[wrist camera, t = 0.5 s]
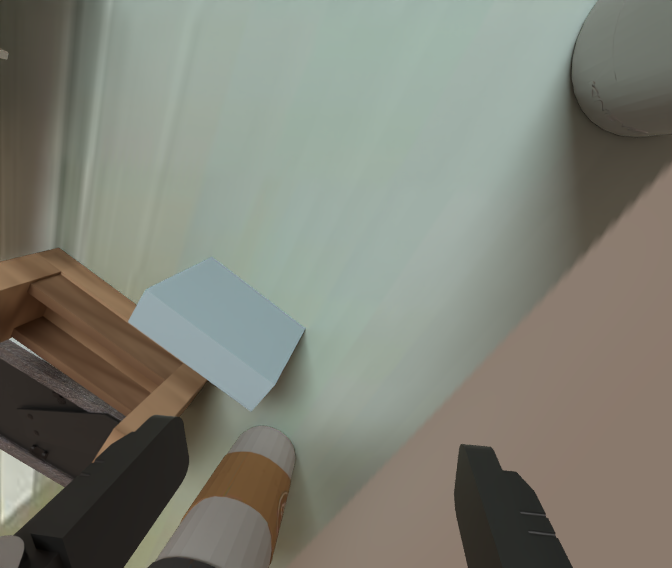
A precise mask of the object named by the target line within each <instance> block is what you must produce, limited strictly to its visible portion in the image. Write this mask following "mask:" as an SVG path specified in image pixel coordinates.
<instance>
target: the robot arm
mask: <svg viewBox="0 0 672 568" xmlns="http://www.w3.org/2000/svg"><path fill="white" fill-rule="evenodd" d="M572 82H573V88H574V93H575V96H576V98H577V101H578V103H579V105H580V107H581V109H582V110H583V112H584V113H585V114H586V115H587V116H588V118H589V119H590V120H591V121H592V122H593V123H595V124H596V125H598V126H599V127H601V128H602V129H603V130H606V131H609V132H611V133H614V134H617V135H621V136H630V137H644V136H655V135H664V134H672V0H598V1H597V2H596V4H595V5H594V7H593V8H592V10H591V12H590V13H589V15H588V16H587V18H586V20H585V22H584V24H583V27H582V29H581V31H580V34H579V36H578V38H577V42H576V46H575V50H574V54H573V58H572ZM188 465H189V455H188V449H187V443H186V437H185V431H184V425H183V421H182V419H181V418H180V417H175V416H164V415H153V416H151V417H150V418H148V419H147V420H146V421H145V422H144V423H143V424H142V425H141V426H140V427H139V428H138V429H137V430H136V431H135V432H130V433H129V434H127V435H125V436H124V437H122V438H120V439H119V440H117V441H116V442H114V443H112V444H111V445H110V446H109V447H108V448H107V449H106V450H104V451H103V452H102V453H101V454H100V455H99V456H98V457H97V458H96V459H95V461H94V463H91V464H90V465H88V466H87V467H86V468H85V469H84V470H83V471H82V472H81V474H80V476H77V477H76V478H75V479H73V480H72V481H71V482H70V483H69V484H68V485H67V486H66V487H65V488H64V489H63V490H62V491H61V492H60V493H58V494H57V495H56V496H55V497H54V498H53V499H52V500H51V501H50V502H49V503H48V504H47V505H46V506H45V507H44V508H42V509H41V510H40V511H39V512H38V513H37V514H36V515H35V516H34V517H33V518H32V519H31V520H30V521H29V522H27V523H26V524H25V525H24V526H23V527H22V528H21V529H20V530H19V531H18V532H17V533H15V534H14V535H13V536H12V535H8V536H1V537H0V568H124V566H125V565H126V563H127V562H128V560H129V559H130V557H131V556H132V555H133V553H134V552H135V550H136V549H137V547H138V546H139V544H140V543H141V541H142V540H143V539H144V537H145V536H146V534H147V533H148V531H149V530H150V528H151V527H152V525H153V524H154V523H155V521H156V520H157V518H158V517H159V515H160V514H161V512H162V511H163V509H164V508H165V507H166V505H167V504H168V502H169V501H170V499H171V498H172V496H173V495H174V493H175V492H176V491H177V489H178V488H179V486H180V485H181V483H182V482H183V480H184V478H185V476H186V473H187V470H188ZM454 500H455V511H456V517H457V521H458V526H459V530H460V534H461V539H462V543H463V547H464V552H465V556H466V561H467V565H468V568H573V567H572V565H571V563H570V561H569V559H568V557H567V555H566V553H565V551H564V549H563V547H562V545H561V543H560V542H559V539H558V538H556V536H555V532H554V529H553V527H552V525H551V523H550V521H549V519H548V518H546V515H545V512H544V510H543V508H542V506H541V503H540V501H539V500H538V498H537V496H536V494H535V492H534V490H533V489H532V488H531V487H530V486H529V485H528V484H527V483H526V482H525V481H524V480H523V479H522V478H521V476H520V475H519V474H518V473H517V472H513V471H503V470H502V469H501V466H500V464H499V461H498V459H497V457H496V454H495V452H494V450H493V449H492V448H491V447H487V446H486V447H485V446H476V445H465V444H461V445H460V448H459V455H458V463H457V472H456V480H455V489H454Z"/></svg>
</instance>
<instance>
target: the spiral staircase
mask: <svg viewBox="0 0 672 568" xmlns="http://www.w3.org/2000/svg"><path fill="white" fill-rule="evenodd" d="M8 53H9V52H7V51H5V50H3V49H1V48H0V58H2V59H6V60H7V59H8Z"/></svg>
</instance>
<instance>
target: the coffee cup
mask: <svg viewBox="0 0 672 568" xmlns="http://www.w3.org/2000/svg"><path fill="white" fill-rule="evenodd" d="M295 458H296V457H295V452H294V447H293V445H292V443H291V441H290V440H289V438H288V437H287V436H286V435H285V434H283V433H282V432H281V431H279V430H277V429H275V428H272V427H268V426H256V427H252V428H250V429H248V430H247V431H245V432H243V433H242V434H241V435H240V436H239V437H238V439H237V440H236V442H235V443H234V445H233V446H232V447H231V449H230V450H229V452H228V453H227V455H225V456H224V458H223V459H222V461H221V462H220V464H219V465H218V467H217V468H216V470H215V471H214V473H213V474H212V475H211V477H210V478H209V480H208V481H207V483H206V484H205V486H204V487H203V489H202V490H201V492H200V493H199V495H198V496H197V498H196V499H195V501H194V502H193V503H192V505H191V506H190V508H189V509H188V511H187V512H186V514H185V515H184V517H183V518H182V521H181V523H180V525H179V526H178V528H177V529H176V531H175V532H174V534H173V535H172V537H171V538H170V540H169V541H168V543H167V544H166V546H165V547H164V549H163V550H162V552H161V553H160V555H159V556H158V558H157V559H156V561H155V562H153V563H152V564H151V565H150V566H149V567H148V568H269V565H270V564H271V561H272V557H273V553H274V549H275V545H276V541H277V537H278V533H279V529H280V525H281V521H282V517H283V513H284V509H285V505H286V501H287V496H288V492H289V488H290V482H291V477H292V473H293V469H294V465H295Z"/></svg>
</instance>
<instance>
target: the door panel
mask: <svg viewBox="0 0 672 568" xmlns="http://www.w3.org/2000/svg"><path fill="white" fill-rule="evenodd" d="M128 323H130V324H131V325H133V326H134V327H135V328H137V329H138V330H139V331H141V332H142V333H144V334H145V335H146V336H148V337H149V338H150V339H152V340H153V341H155V342H156V343H157V344H159V345H160V346H161V347H163V348H164V349H166V350H167V351H168V352H170V353H171V354H172V355H174V356H175V357H177V358H178V359H179V360H181V361H182V362H183V363H185V364H186V365H188V366H189V367H190V368H192V369H193V370H194V371H196V372H197V373H199V374H200V375H201V376H203V377H204V378H206V379H207V380H208V381H210V382H211V383H212V384H214V385H215V386H217V387H218V388H219V389H221V390H222V391H223V392H225V393H226V394H228V395H229V396H230V397H232V398H233V399H234V400H236V401H237V402H239V403H240V404H241V405H243V406H244V407H245V408H247V409H248V410H250V411H252V410H253V409H254V408H255V407H256V406H257V405H258V403H259V402H260V401H261V400H262V399H263V398H264V397H265V396H266V394H267V393H268V392H269V391H270V390H271V389H272V388H273V387H274V385H275V384H276V382H277V380H278V378H279V376H280V375H281V373H282V371H283V369H284V367H285V365H286V364H287V362H288V360H289V358H290V356H291V354H292V352H293V351H294V349H295V347H296V345H297V343H298V341H299V340H300V338H301V336H302V334H303V332H304V330H305V328H304V327H303V326H302V325H301V324H299V323H298V322H297V321H295V320H294V319H293V318H291V317H290V316H289V315H288V314H286V313H285V312H284V311H282V310H281V309H280V308H278V307H277V306H276V305H275V304H273V303H272V302H271V301H269V300H268V299H267V298H265V297H264V296H263V295H262V294H260V293H259V292H258V291H256V290H255V289H254V288H252V287H251V286H250V285H249V284H247V283H246V282H245V281H243V280H242V279H241V278H239V277H238V276H237V275H235V274H234V273H233V272H232V271H230V270H229V269H228V268H226V267H225V266H224V265H222V264H221V263H220V262H219V261H217V260H216V259H215V258H213V257H210V258H208V259H206V260H204V261H202V262H200V263H198V264H196V265H194V266H192V267H190V268H188V269H186V270H184V271H182V272H180V273H178V274H176V275H174V276H172V277H170V278H168V279H166V280H164V281H162V282H160V283H158V284H156V285H153V286H151V287H149V288H147V289H146V290H145V291H144V293H143V295H142V297H141V299H140V300H139V302H138V304H137V306H136V308H135V310H134V311H133V313H132V315H131V317H130V319H129V320H128Z"/></svg>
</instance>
